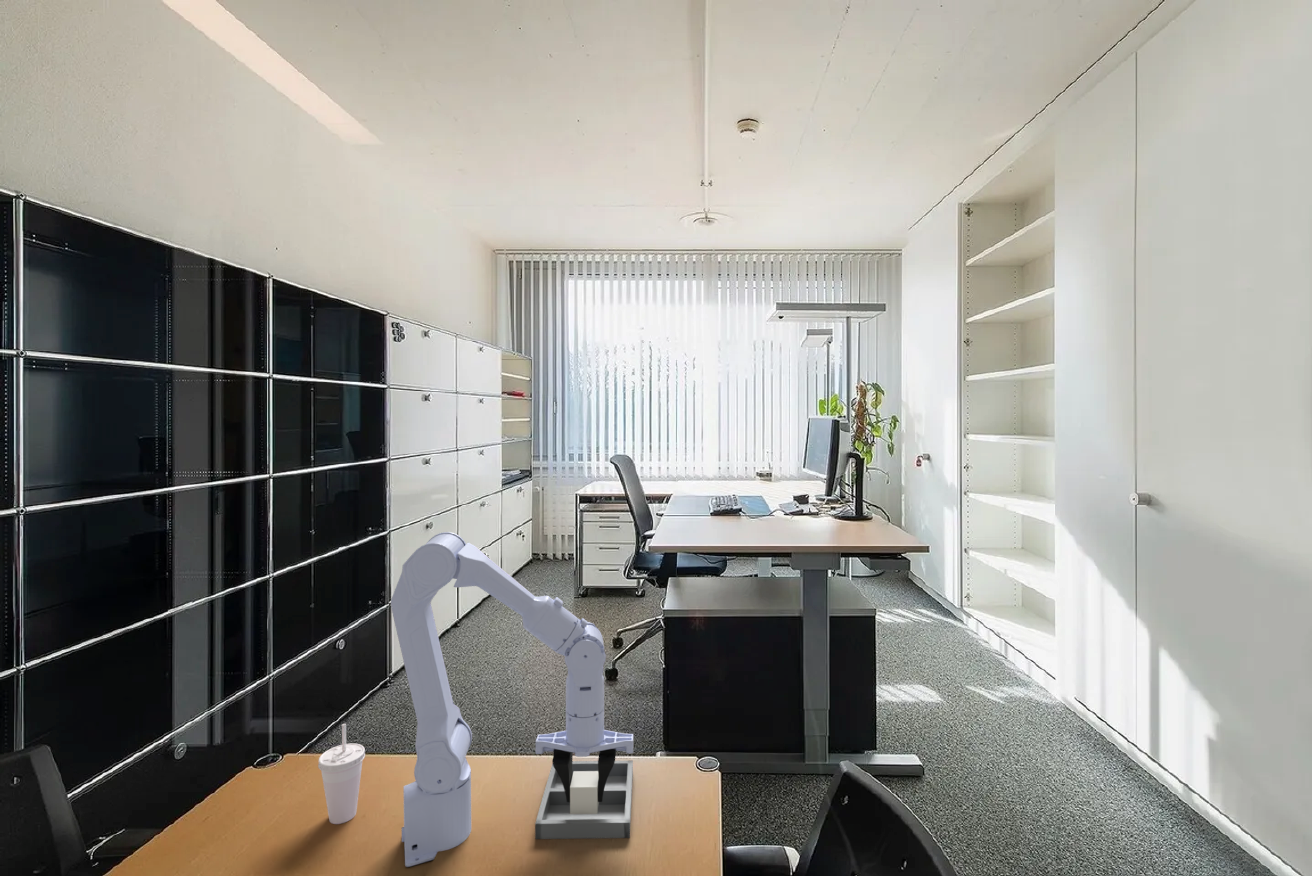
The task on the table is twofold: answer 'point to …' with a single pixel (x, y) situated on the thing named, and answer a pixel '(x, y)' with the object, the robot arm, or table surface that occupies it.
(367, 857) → the table surface
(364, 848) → the table surface
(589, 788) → the white block
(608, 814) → the divided tray
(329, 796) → the smoothie
